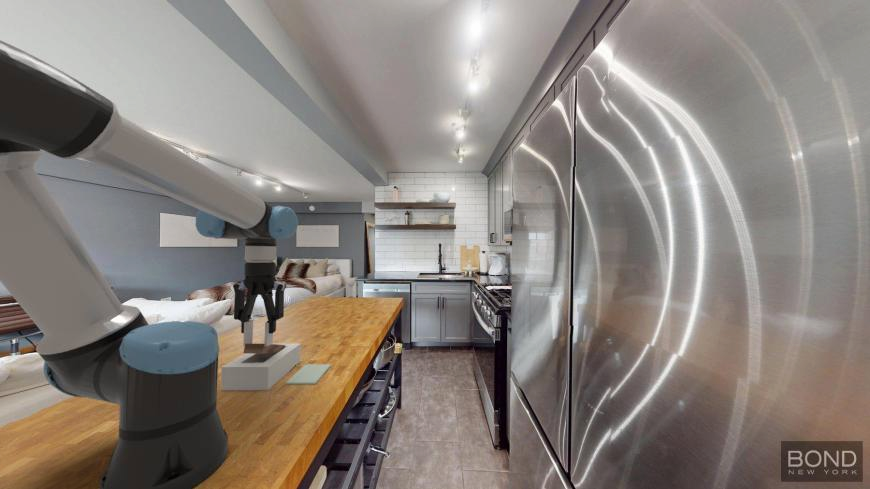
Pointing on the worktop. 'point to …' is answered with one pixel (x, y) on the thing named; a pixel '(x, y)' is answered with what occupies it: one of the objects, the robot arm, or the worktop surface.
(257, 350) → the walnut bar
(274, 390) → the worktop surface
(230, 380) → the pocket block
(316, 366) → the sage mat
